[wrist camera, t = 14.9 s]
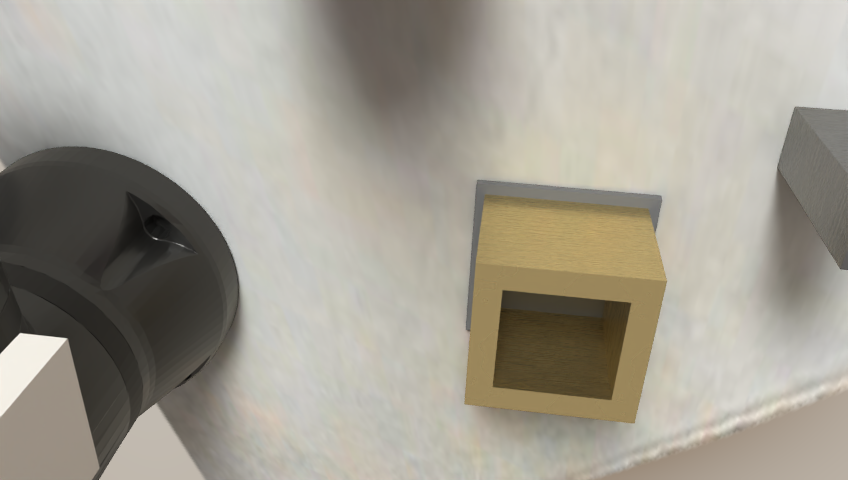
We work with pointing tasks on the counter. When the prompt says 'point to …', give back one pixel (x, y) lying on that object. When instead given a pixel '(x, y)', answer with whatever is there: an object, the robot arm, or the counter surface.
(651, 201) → the mat
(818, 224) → the post
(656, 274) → the collar
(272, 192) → the counter surface
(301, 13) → the counter surface
